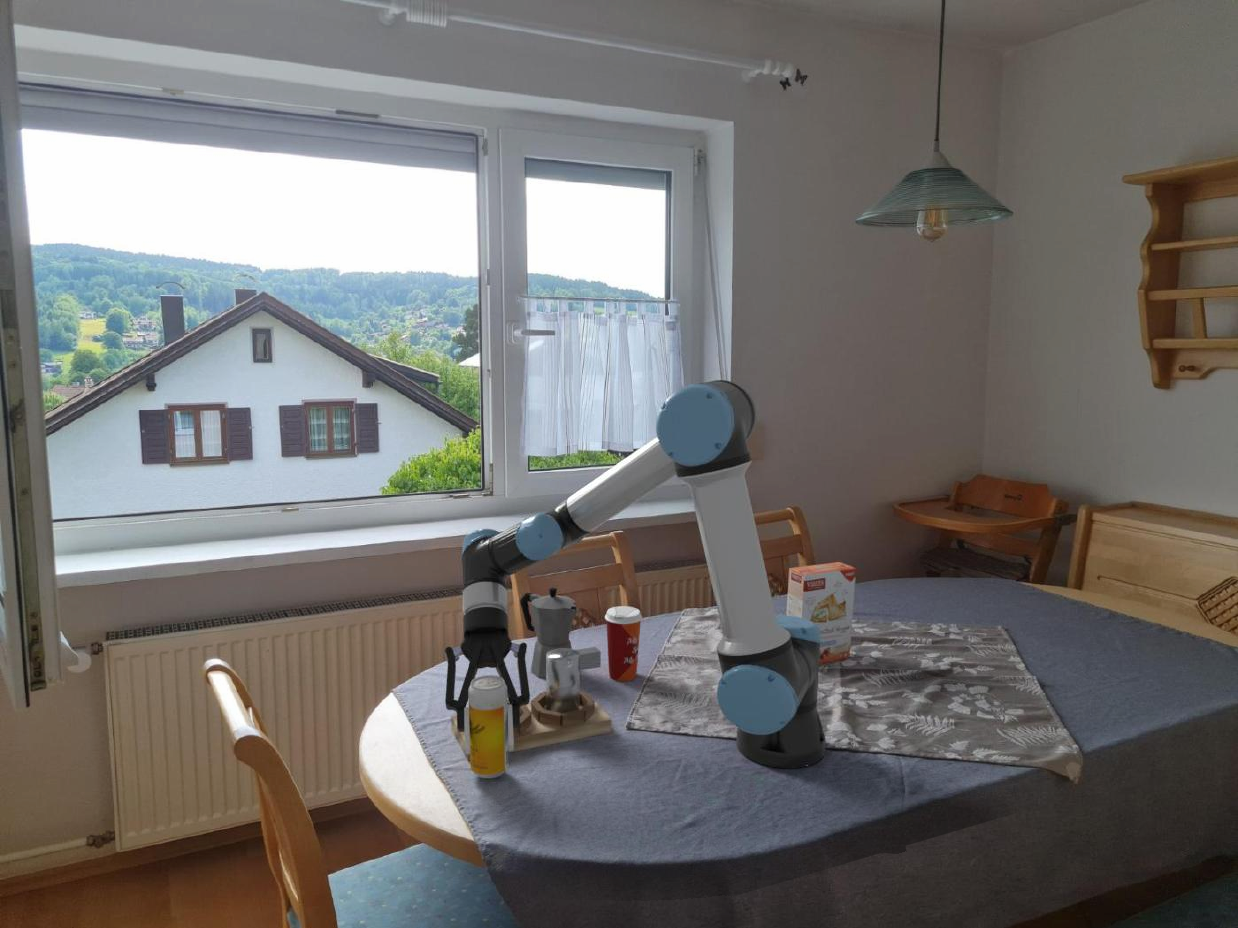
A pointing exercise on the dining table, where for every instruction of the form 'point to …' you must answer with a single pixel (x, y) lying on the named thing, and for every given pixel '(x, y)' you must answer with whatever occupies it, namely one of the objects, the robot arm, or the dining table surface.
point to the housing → (551, 724)
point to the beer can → (488, 726)
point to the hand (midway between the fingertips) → (489, 749)
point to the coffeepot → (548, 625)
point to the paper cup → (623, 642)
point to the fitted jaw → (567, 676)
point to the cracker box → (825, 604)
